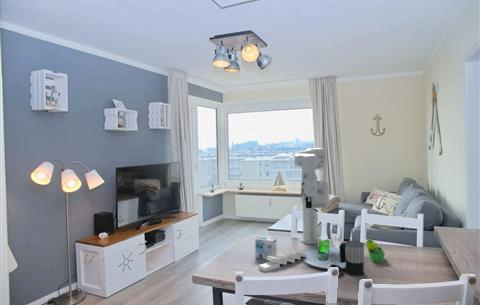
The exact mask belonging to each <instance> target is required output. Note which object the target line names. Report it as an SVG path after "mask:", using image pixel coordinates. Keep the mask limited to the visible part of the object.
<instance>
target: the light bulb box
mask: <svg viewBox="0 0 480 305" xmlns="http://www.w3.org/2000/svg"><path fill="white" fill-rule="evenodd" d="M254 248H255V252H254V253H255V254H254V255H255V258H259V259H264V260H267V256H272V257H275V255H276V253H277V237H269V236H263V235H260V236H258V237H257V238H255V247H254Z"/></svg>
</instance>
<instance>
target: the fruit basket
mask: <svg viewBox="0 0 480 305" xmlns="http://www.w3.org/2000/svg"><path fill="white" fill-rule="evenodd" d="M365 241H366V242H365V243H366V248H367V251H368V256H369V257H370V260H371V262H373V263H376V262H377V263H383V261H384V257H385V255H386V253H385V251H384V250H383V248H382V247H380V246H378V243H376V242H375V241H374V240H373V239H372V238H367V239H366V240H365Z"/></svg>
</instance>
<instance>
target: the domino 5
mask: <svg viewBox="0 0 480 305" xmlns="http://www.w3.org/2000/svg"><path fill="white" fill-rule="evenodd" d="M288 253H291V254H294V255H298V256H301V258H302V257H304V258H307V256H308V254H307V253H305V252H302V251H298V250H294V249H289V250H288Z"/></svg>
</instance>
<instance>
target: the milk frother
mask: <svg viewBox="0 0 480 305" xmlns="http://www.w3.org/2000/svg"><path fill="white" fill-rule="evenodd" d="M364 255H365V243H364V242H361V241H358V240H346V241H345V242H342V243H340V244H339V260H340V263H341V264H344V263H345V266H344V268H343V267H341V266H340V265H338V264H333V263H332V264H330V265H329V268H330V267H333V268H335V267H338V268H339V269H338V268H337V269H338V270H339V275H338V276H343V275H344V273H346V274H348V275H351V276H353V277H359V276H363V275H365V271H364V270H365V267H364V266H365V264H364V263H365V261H364V260H365V259H364V258H365V256H364ZM344 271H345V272H344Z"/></svg>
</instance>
